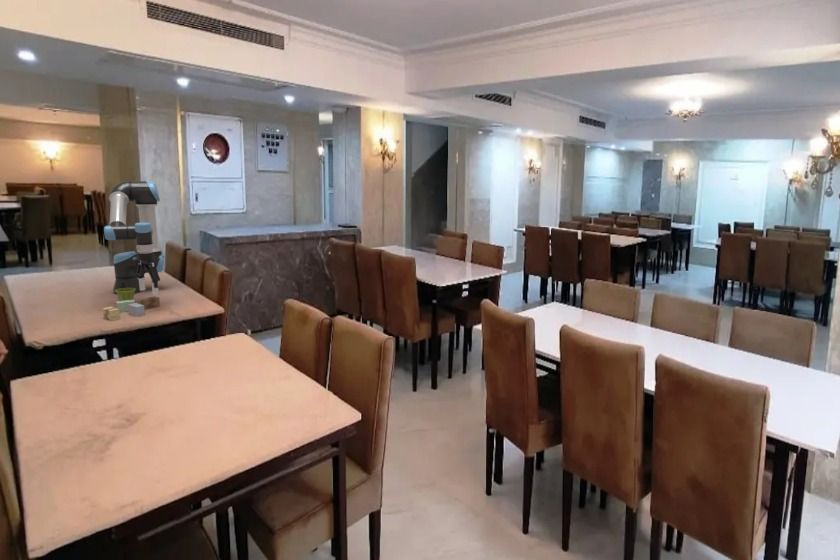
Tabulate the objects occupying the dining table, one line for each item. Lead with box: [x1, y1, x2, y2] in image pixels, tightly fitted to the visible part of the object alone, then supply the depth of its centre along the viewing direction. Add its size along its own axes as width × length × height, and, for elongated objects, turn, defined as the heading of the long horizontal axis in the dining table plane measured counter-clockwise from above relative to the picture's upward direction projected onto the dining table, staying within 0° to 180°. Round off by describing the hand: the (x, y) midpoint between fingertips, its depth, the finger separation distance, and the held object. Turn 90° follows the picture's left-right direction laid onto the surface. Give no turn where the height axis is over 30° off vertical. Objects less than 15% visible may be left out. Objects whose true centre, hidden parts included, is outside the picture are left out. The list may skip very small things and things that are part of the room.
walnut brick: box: [139, 295, 161, 310], centre depth 269 cm, size 8×4×5 cm, turn 148°
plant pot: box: [115, 288, 136, 301], centre depth 271 cm, size 9×9×9 cm
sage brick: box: [115, 299, 136, 313], centre depth 262 cm, size 8×4×5 cm, turn 124°
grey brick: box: [128, 302, 146, 317], centre depth 256 cm, size 8×4×5 cm, turn 55°
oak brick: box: [102, 306, 121, 322], centre depth 248 cm, size 8×4×5 cm, turn 56°
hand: (149, 292), depth 268 cm, fingers open, 13 cm apart
